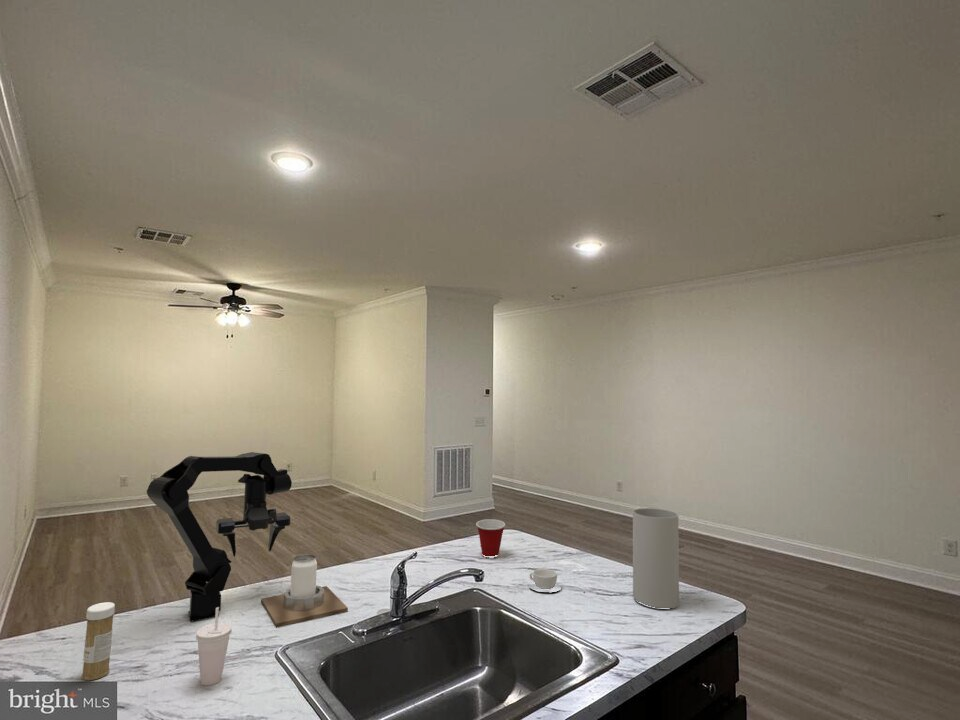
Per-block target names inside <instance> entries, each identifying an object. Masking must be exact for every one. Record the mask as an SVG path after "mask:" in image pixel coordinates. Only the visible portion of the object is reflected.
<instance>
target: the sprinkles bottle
mask: <svg viewBox="0 0 960 720" xmlns="http://www.w3.org/2000/svg"><path fill="white" fill-rule="evenodd" d="M115 605H116V604H115V603H114V602H111V601H107V602H106V601H105V602H100V603H96V604H92V605H90V606H89V607H88V608H87V610H86V631H85V639H84V651H83V664H82V674H81V679H82V680H84V681H94V680H98V679H100V678H103V677H105V676H107V675H108V674H109V673H110V660H111V658H110V657H111V651H112V641H113V640H112V639H113V624H114V623H113V622H114V616H115V611H116V606H115Z"/></svg>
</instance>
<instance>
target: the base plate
mask: <svg viewBox="0 0 960 720" xmlns="http://www.w3.org/2000/svg"><path fill="white" fill-rule="evenodd" d="M321 587H322V588H323V589H324V601H323V603H322V605H320V606H318V607H316V608H314V609H310V610H305V611H292V610H288V609H285V607H284V606H283V600H284V593H283V594H278V595H273V596H268V597H262V598H260V603H261V605H262V606H264V607H263V608H264V610H265V612H266V611H267V612H266V614H267V615H268V617H269V619H270V620H271V622H272V623H273V625H274V627H275V628H277V627H278V628H281V627H286V626H291V625H295V624H299V623H300V624H301V623H304V622H307V621H312V620H317V619H321V618H322V619H323V618H326V617H330V616H333V615H339V614H342V613H347V612H349V611H348V610H349V609H348V606H347V605H346V604H345V603H344V602H343V601H342V600H341V599H340V598H339V597H338V596H337V594H335V593H334V592H333V591H332V590H331V589H330V588H329V587H328V586H327V585H326V586H321Z"/></svg>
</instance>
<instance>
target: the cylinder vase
mask: <svg viewBox="0 0 960 720" xmlns="http://www.w3.org/2000/svg"><path fill="white" fill-rule="evenodd" d="M679 538H680V537H679V513H677V512H675V511H671V510H667V509H660V508H653V507H652V508H649V507H647V508H645V507H644V508H635V509H633V510H632V598H633V597H634V598H633V600H634V599H636V600H637V601H638V602H641V603H643V604H645V605H648V606H651V607H655V608H673V609H675V608H674V607H676V608H677V607H678V606H679V605H680V570H679V569H680V557H679V555H680V554H679V553H680V551H679V549H680V548H679V545H680V544H679V543H680V542H679Z"/></svg>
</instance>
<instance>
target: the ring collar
mask: <svg viewBox="0 0 960 720" xmlns="http://www.w3.org/2000/svg"><path fill="white" fill-rule="evenodd" d="M322 587H323V586H321V585H317V584H316V594H315V595H313V596H309V597H292V596H290V589H291V587H290V588H288V589H286V590H285V592H284V593H283V594H284V600H283V606H284V607H285V609H288V610H292V611H305V610H310V609H314V608H316V607H318V606H320V605H322V603H323V601H324V589H323V588H322Z"/></svg>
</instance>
